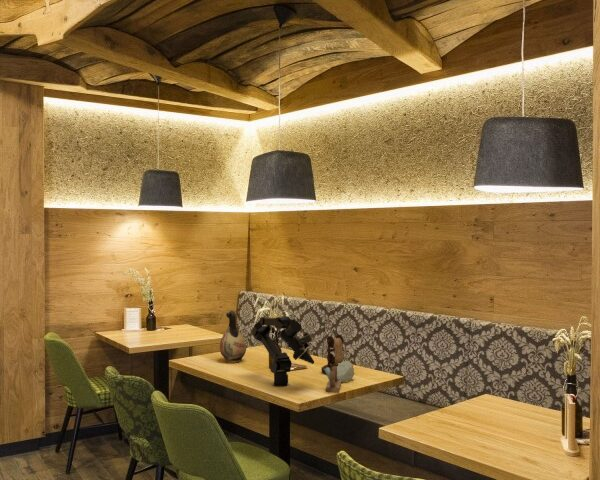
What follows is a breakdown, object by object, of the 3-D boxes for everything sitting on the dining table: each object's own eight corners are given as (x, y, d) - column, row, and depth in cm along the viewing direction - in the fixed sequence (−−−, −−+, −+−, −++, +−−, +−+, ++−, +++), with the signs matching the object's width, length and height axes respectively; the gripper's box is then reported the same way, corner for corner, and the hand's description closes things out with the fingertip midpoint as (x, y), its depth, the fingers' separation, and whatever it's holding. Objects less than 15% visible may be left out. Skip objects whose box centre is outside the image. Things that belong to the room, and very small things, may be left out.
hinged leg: (330, 383, 291) (323, 369, 291) (330, 382, 293) (324, 368, 293) (334, 381, 290) (328, 367, 291) (335, 380, 293) (328, 366, 293)
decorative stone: (348, 376, 317) (337, 361, 316) (361, 372, 309) (350, 357, 308) (335, 393, 308) (323, 377, 307) (348, 389, 300) (336, 373, 299)
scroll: (335, 377, 316) (335, 338, 315) (315, 372, 327) (315, 335, 326) (354, 373, 325) (354, 335, 325) (335, 368, 336) (335, 332, 336)
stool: (325, 392, 285) (325, 372, 285) (328, 385, 299) (328, 365, 299) (338, 393, 284) (338, 372, 284) (341, 385, 298) (341, 366, 298)
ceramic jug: (217, 359, 361) (217, 308, 360) (243, 357, 365) (243, 307, 365) (222, 365, 344) (222, 312, 344) (249, 363, 349) (249, 311, 349)
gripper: (299, 331, 284) (323, 355, 283) (305, 325, 303) (327, 348, 301) (283, 347, 286) (306, 371, 284) (289, 340, 304) (311, 363, 302)
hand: (313, 363), depth 293 cm, fingers closed
